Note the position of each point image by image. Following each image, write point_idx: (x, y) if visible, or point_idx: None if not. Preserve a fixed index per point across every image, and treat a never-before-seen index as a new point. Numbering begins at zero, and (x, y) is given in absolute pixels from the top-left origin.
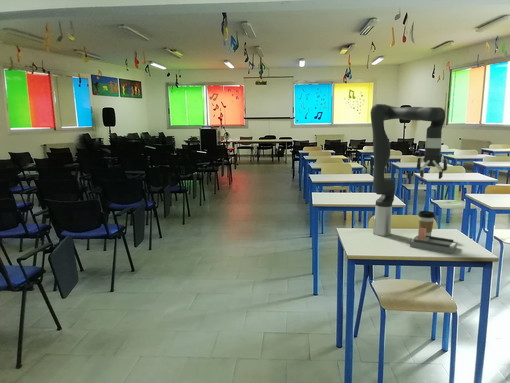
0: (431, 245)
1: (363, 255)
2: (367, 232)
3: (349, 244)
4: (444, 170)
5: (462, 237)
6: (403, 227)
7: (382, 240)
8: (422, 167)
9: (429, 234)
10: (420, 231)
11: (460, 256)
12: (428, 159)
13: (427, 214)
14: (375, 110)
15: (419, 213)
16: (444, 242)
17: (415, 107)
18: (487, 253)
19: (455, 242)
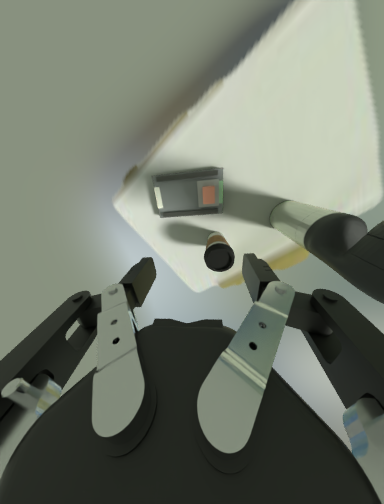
0: (185, 172)
1: None
2: None
3: (354, 76)
4: (84, 291)
5: (174, 266)
6: None
7: (278, 173)
8: (280, 304)
9: (208, 238)
10: (210, 186)
11: (141, 173)
12: (241, 483)
13: (214, 248)
14: None
15: (232, 252)
16: (173, 203)
17: None
18: (123, 216)
19: (161, 214)
